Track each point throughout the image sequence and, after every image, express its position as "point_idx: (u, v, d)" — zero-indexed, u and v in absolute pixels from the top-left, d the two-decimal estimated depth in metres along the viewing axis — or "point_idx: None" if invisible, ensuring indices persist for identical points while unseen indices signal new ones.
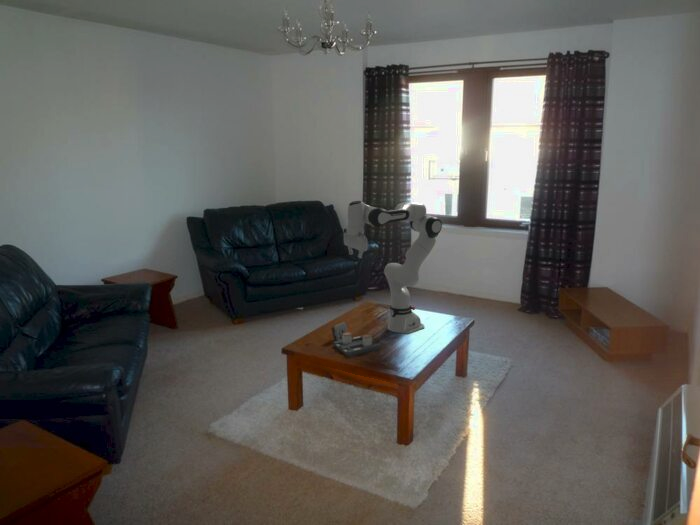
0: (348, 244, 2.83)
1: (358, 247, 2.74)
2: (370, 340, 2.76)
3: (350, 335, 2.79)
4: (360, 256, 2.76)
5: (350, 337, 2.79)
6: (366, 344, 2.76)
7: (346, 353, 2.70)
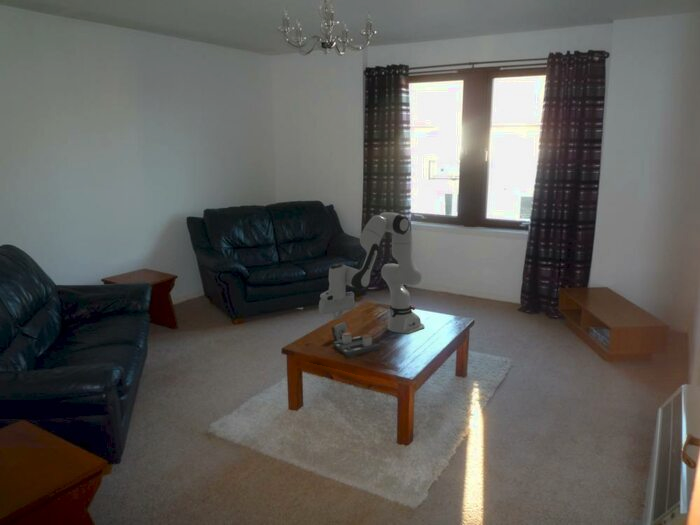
0: (331, 310, 2.69)
1: (348, 306, 2.74)
2: (370, 340, 2.76)
3: (350, 335, 2.79)
4: None
5: (350, 337, 2.79)
6: (366, 344, 2.76)
7: (346, 353, 2.70)
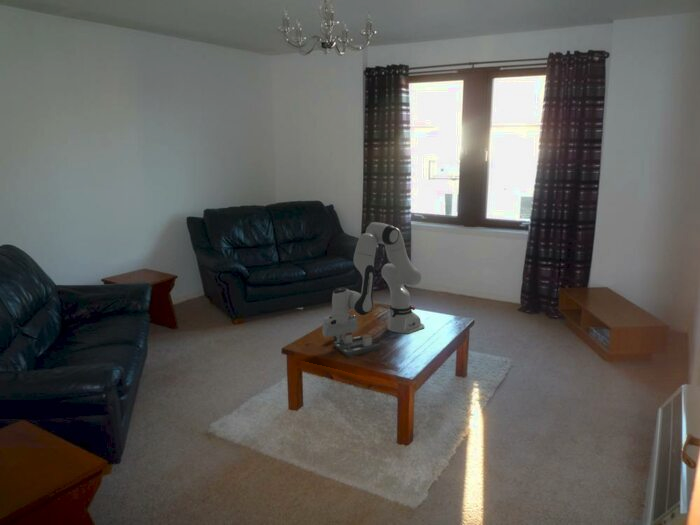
0: (334, 334, 2.73)
1: (351, 330, 2.79)
2: (370, 340, 2.76)
3: (351, 335, 2.79)
4: None
5: (351, 337, 2.80)
6: (366, 344, 2.76)
7: (346, 353, 2.70)
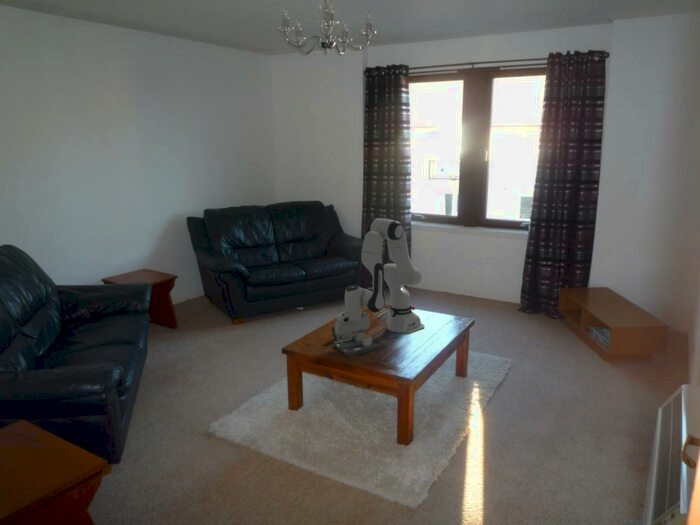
0: (346, 331, 2.77)
1: (363, 327, 2.82)
2: (370, 340, 2.76)
3: (363, 332, 2.83)
4: None
5: (363, 334, 2.83)
6: (366, 344, 2.76)
7: (346, 353, 2.70)
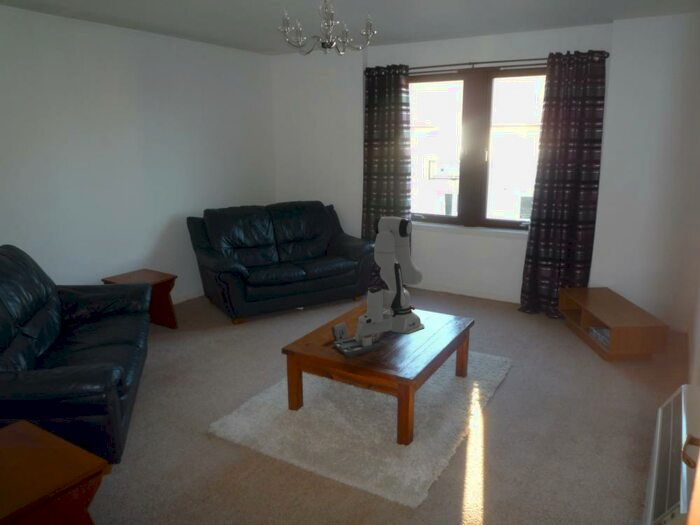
0: (369, 333, 2.75)
1: (385, 329, 2.80)
2: (370, 340, 2.76)
3: None
4: None
5: None
6: (366, 344, 2.76)
7: (346, 353, 2.70)
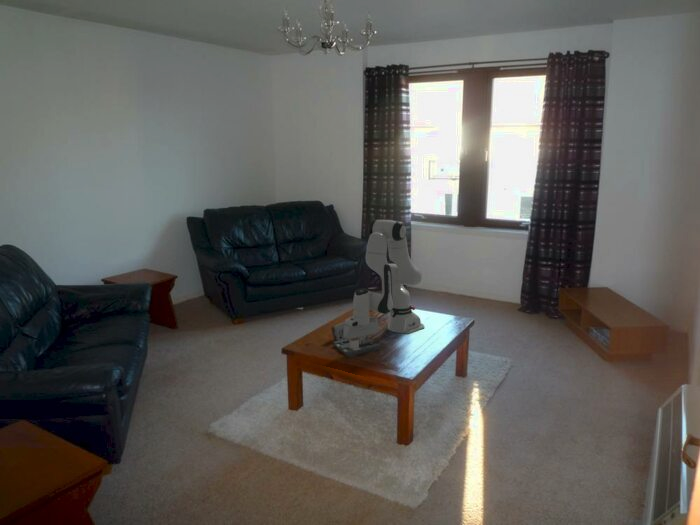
0: (355, 336, 2.70)
1: (372, 331, 2.76)
2: (357, 343, 2.73)
3: None
4: None
5: None
6: (353, 347, 2.72)
7: (346, 353, 2.70)
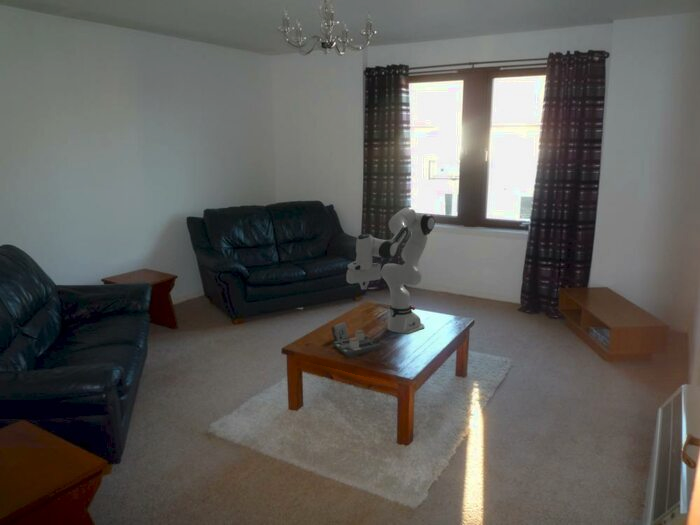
0: (358, 280, 2.74)
1: (375, 277, 2.79)
2: (357, 343, 2.73)
3: (363, 332, 2.83)
4: None
5: (363, 334, 2.83)
6: (353, 347, 2.72)
7: (346, 353, 2.70)
